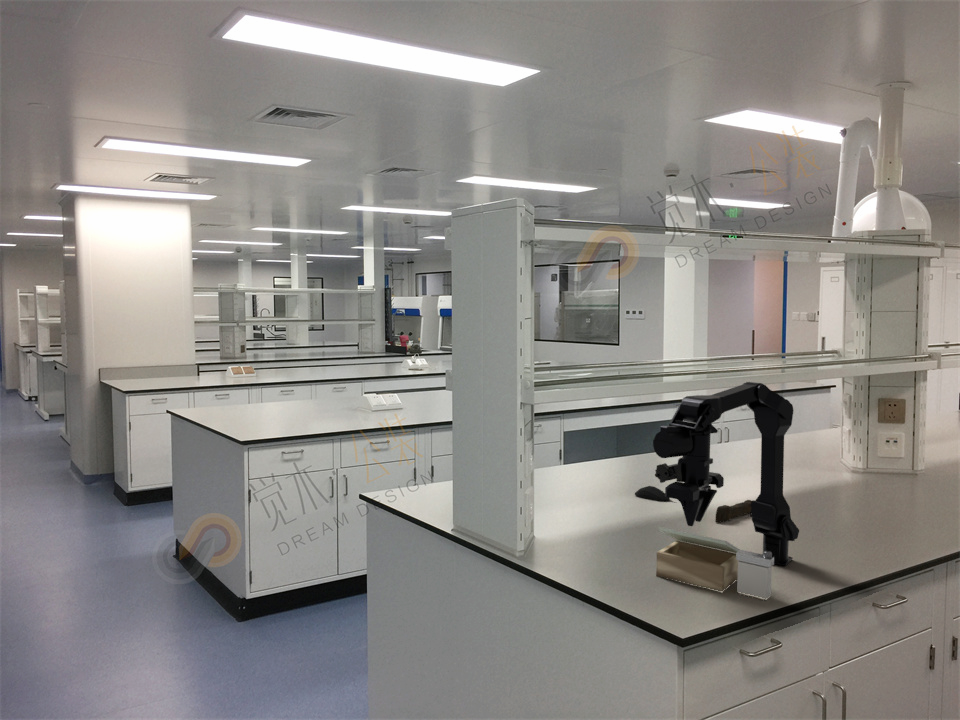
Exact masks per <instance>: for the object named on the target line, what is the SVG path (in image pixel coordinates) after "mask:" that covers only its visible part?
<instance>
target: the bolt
mask: <svg viewBox="0 0 960 720" xmlns="http://www.w3.org/2000/svg"><path fill="white" fill-rule="evenodd" d="M762 554H763V555H762ZM736 560H739V561H743V562H748V563H752V564H756V565H761V566H765V567H769V568H771V567H773V566H774V565H775V564H774V557H772V552H771V551H763V550H762V553H757V552H752V551H747V550H744V549H740V550H739V551H738V552H736Z"/></svg>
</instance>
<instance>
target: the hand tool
mask: <svg viewBox="0 0 960 720" xmlns="http://www.w3.org/2000/svg"><path fill="white" fill-rule="evenodd" d="M752 501H753V500H751V499H747V500H745V501H743V502H739V503H738V502H737V503H735V504H733V505H726V504H723V505H720V506H718V507H717V508H716V512H715V521H714V522H715V523H716V524H717V523H719V524H720V523H725V522H726V523H727V522H730V521H731V519H733V518H737V517H740V516H741V517H742V516H744V515H747V514H748V515H749V514H751V502H752Z"/></svg>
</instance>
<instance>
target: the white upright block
mask: <svg viewBox="0 0 960 720" xmlns="http://www.w3.org/2000/svg"><path fill="white" fill-rule="evenodd" d="M772 567H773V566H772ZM772 567H771V568H769V567H765V566H761V565H756V564H752V563H748V562H743V561H738V579H737V581H736V583H737V584H736V585H737V587H736V588H737V589H736V593H737V592H741V593H745V594H750V595H754V596H758V597H762V598H765V599H766V598H768V597H769V596H770V595H772V593H771V592H772V570H773V569H772Z"/></svg>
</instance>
